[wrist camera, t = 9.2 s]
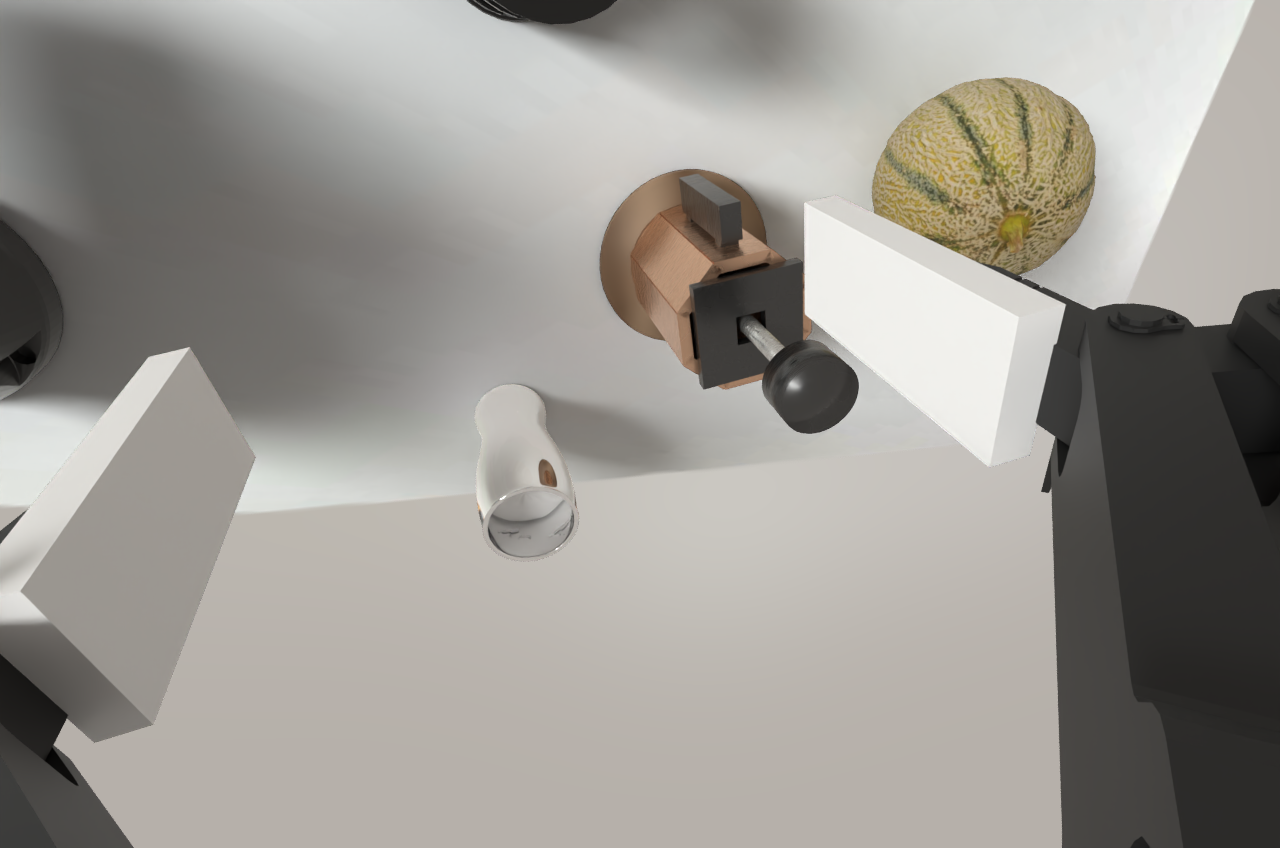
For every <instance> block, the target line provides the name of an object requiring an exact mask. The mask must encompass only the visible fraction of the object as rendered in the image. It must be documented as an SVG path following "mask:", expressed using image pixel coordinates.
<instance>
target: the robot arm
mask: <svg viewBox="0 0 1280 848" xmlns="http://www.w3.org/2000/svg"><path fill="white" fill-rule="evenodd" d="M804 251H805V315H806V316H808V317H809V318H810V319H811V320H812V321H814V322H815V323H816V324H817V325H818V326H820V327H821V328H822V329H823V330H824V331H826V332H827V333H828V334H829V335H830V336H832V337H833V338H834V339H835V340H836V341H838V342H839V343H840V344H841V345H842V346H844V347H845V348H846V349H847V350H848V351H850V352H851V353H852V354H853V355H854V356H856V357H857V358H858V359H859V360H860V361H862V362H863V363H864V364H865V365H866V366H868V367H869V368H870V369H871V370H872V371H874V372H875V373H876V374H877V375H878V376H880V377H881V378H882V379H883V380H884V381H886V382H887V383H888V384H889V385H891V386H892V387H893V388H894V389H895V390H897V391H898V392H899V393H900V394H901V395H903V396H904V397H905V398H906V399H907V400H909V401H910V402H911V403H912V404H913V405H915V406H916V407H917V408H918V409H919V410H921V411H922V412H923V413H924V414H925V415H927V416H928V417H929V418H930V419H931V420H933V421H934V422H935V423H936V424H937V425H939V426H940V427H941V428H942V429H943V430H945V431H946V432H947V433H948V434H949V435H951V436H952V437H953V438H954V439H955V440H957V441H958V442H959V443H960V444H961V445H963V446H964V447H965V448H966V449H968V450H969V451H970V452H971V453H972V454H973V455H975V456H976V457H977V458H978V459H979V460H981V461H982V462H983V463H984V464H985V465H987V466H988V467H989V468H990V467H994V466H997V465H1000V464H1003V463H1007V462H1010V461H1013V460H1017V459H1020V458H1023V457H1026V456H1030V453H1031V449H1032V444H1033V440H1034V436H1035V432H1036V428H1037V424H1038V425H1039V426H1041V427H1043V428H1044V429H1045V430H1047V431H1048V432H1050V433H1051V434H1053V435H1054V436H1055V441H1054V444H1053V449H1052V452H1051V456H1050V460H1049V464H1048V468H1047V471H1046V475H1045V479H1044V483H1043V487H1042V491H1041V492H1046V493H1049V491H1050V489H1052V521H1053V550H1054V551H1053V553H1054V585H1055V614H1056V615H1055V616H1056V649H1057V681H1058V712H1059V743H1060V774H1061V808H1062V848H1280V289H1271V290H1263V291H1256V292H1253V293H1251V294H1248V295H1245V296H1244V297H1243V298H1242V300H1241V302H1240V303H1239V306H1238V309H1237V311H1236V313H1235V316H1234V318H1233V321H1232V324H1227V325H1215V326H1202V327H1194V326H1193V325H1192V323H1191V322H1190V321H1189V320H1188V319H1187V318H1186V317H1184V316H1182V315H1179V314H1177V313H1176V312H1173V311H1171V310H1167V309H1163V308H1160V307H1156V306H1150V305H1141V304H1112V305H1107V306H1103V307H1098V308H1097V309H1095V310H1092V309H1089V308H1087V307H1085V306H1083V305H1081V304H1079V303H1076V302H1074V301H1072V300H1070V299H1068V298H1066V297H1064V296H1061V295H1059V294H1057V293H1055V292H1053V291H1051V290H1048V289H1046V288H1044V287H1043V288H1040V287H1039V285H1038V284H1036V283H1033V282H1031V281H1029V280H1027V279H1024V280H1022V277H1020V276H1018V275H1016V274H1014V273H1012V272H1010V271H1008V270H1005V269H1003V268H1001V267H997V266H993V265H988V264H984V263H979V262H976V261H973V260H971V259H969V258H967V257H965V256H963V255H961V254H959V253H957V252H955V251H952V250H950V249H948V248H946V247H944V246H942V245H940V244H938V243H936V242H933V241H931V240H929V239H927V238H925V237H923V236H921V235H919V234H917V233H915V232H912V231H910V230H908V229H906V228H904V227H902V226H900V225H898V224H896V223H894V222H891V221H889V220H887V219H885V218H883V217H881V216H879V215H877V214H875V213H872V212H870V211H868V210H866V209H864V208H862V207H860V206H858V205H856V204H854V203H851V202H849V201H847V200H845V199H843V198H841V197H839V196H837V195H833V196H829V197H825V198H821V199H816V200H812V201H808V202H804ZM62 328H63V315H62V308H61V303H60V299H59V296H58V293H57V290H56V287H55V285H54V283H53V281H52V279H51V277H50V275H49V273H48V272H47V270H46V268H45V267H44V265H43V264H42V262H41V261H40V260H39V258H38V257H37V256H36V254H35V253H34V252H33V251H32V250H31V248H30V247H29V246H28V245H27V244H26V243H25V242H24V241H23V240H22V239H21V238H20V237H19V236H18V235H17V234H16V233H15V232H14V231H13V230H12V229H11V228H9V227H8V226H7V225H6V224H5V223H3V222H2V221H1V220H0V400H1V399H3V398H5V397H7V396H9V395H11V394H13V393H14V392H16V391H17V390H19V389H21V388H22V387H23V386H24V385H26V384H27V383H28V382H29V381H30V380H31V379H32V378H33V377H34V376H36V375H37V374H38V373H39V372H40V371H41V370H42V369H43V368H44V367H45V366H46V365H47V364H48V362H49V361H50V360H51V358H52V357H53V355H54V354H55V352H56V350H57V348H58V345H59V342H60V339H61V335H62ZM255 458H256V457H255V455H254V453H253V452H252V450H251V448H250V447H249V445H248V443H247V442H246V440H245V438H244V437H243V435H242V433H241V432H240V430H239V428H238V427H237V425H236V423H235V422H234V420H233V418H232V417H231V415H230V413H229V412H228V410H227V408H226V407H225V405H224V403H223V402H222V400H221V398H220V397H219V395H218V393H217V392H216V390H215V388H214V387H213V385H212V383H211V382H210V380H209V378H208V377H207V375H206V373H205V372H204V370H203V368H202V367H201V365H200V363H199V362H198V360H197V358H196V357H195V355H194V353H193V351H192V350H191V348H190V347H188V348H184V349H180V350H176V351H171V352H167V353H163V354H159V355H154V356H150V357H148V358H147V360H146V361H145V362H144V364H143V365H142V366H141V367H140V369H139V370H138V371H137V372H136V374H135V375H134V376H133V377H132V379H131V380H130V381H129V382H128V384H127V385H126V386H125V388H124V389H123V390H122V391H121V393H120V394H119V395H118V396H117V398H116V399H115V400H114V401H113V403H112V404H111V405H110V406H109V408H108V409H107V410H106V412H105V413H104V414H103V415H102V417H101V418H100V419H99V420H98V422H97V423H96V424H95V425H94V427H93V428H92V429H91V430H90V432H89V433H88V434H87V436H86V437H85V438H84V439H83V441H82V442H81V443H80V444H79V446H78V447H77V448H76V449H75V451H74V452H73V453H72V454H71V456H70V457H69V458H68V459H67V461H66V462H65V463H64V465H63V466H62V467H61V468H60V470H59V471H58V472H57V473H56V475H55V476H54V477H53V478H52V480H51V481H50V482H49V483H48V485H47V486H46V487H45V489H44V490H43V491H42V492H41V494H40V495H39V496H38V497H37V499H36V500H35V501H34V502H33V504H32V505H31V506H30V507H29V509H27V510H26V511H25V512H24V513H22V514H21V515H20V516H19V517H17V518H16V519H15V520H13V521H12V522H11V523H10V524H9V525H7V526H6V527H5V528H3V529H2V530H1V531H0V848H133V846H132V845H131V844H130V842H129V840H128V839H127V838H126V836H125V835H124V834H123V832H122V831H121V829H120V828H119V827H118V825H117V824H116V822H115V821H114V820H113V818H112V817H111V815H110V814H109V813H108V811H107V810H106V808H105V807H104V806H103V804H102V803H101V801H100V800H99V799H98V797H97V796H96V794H95V793H94V792H93V790H92V789H91V788H90V786H89V785H88V783H87V782H86V781H85V779H84V778H83V776H82V775H81V774H80V772H79V771H78V769H77V768H76V767H75V765H74V764H73V762H72V761H71V760H70V759H69V758H68V757H67V756H66V755H65V754H63V753H62V752H61V751H60V750H59V749H57V748H56V747H55V746H54V745H53V744H54V742H55V741H56V738H57V737H58V735H59V733H60V731H61V729H62V727H63V725H64V723H65V721H66V719H69V720H70V721H71V722H72V723H73V724H74V725H75V726H76V727H77V728H78V729H80V730H81V731H82V732H83V733H84V734H85V735H86V736H87V737H89V738H90V739H91V740H92V741H93V742H94V743H95V742H99V741H102V740H105V739H108V738H112V737H115V736H118V735H121V734H125V733H128V732H131V731H134V730H137V729H141V728H144V727H147V726H151V725H153V724H154V721H155V719H156V716H157V714H158V711H159V708H160V706H161V703H162V701H163V698H164V695H165V693H166V690H167V687H168V685H169V682H170V679H171V677H172V675H173V672H174V669H175V667H176V664H177V661H178V659H179V656H180V654H181V651H182V648H183V646H184V643H185V641H186V638H187V635H188V633H189V630H190V627H191V625H192V622H193V620H194V617H195V614H196V612H197V609H198V606H199V604H200V601H201V599H202V596H203V594H204V591H205V588H206V586H207V583H208V580H209V578H210V575H211V572H212V570H213V567H214V565H215V562H216V560H217V557H218V554H219V552H220V549H221V546H222V544H223V541H224V539H225V536H226V533H227V531H228V528H229V526H230V523H231V520H232V518H233V515H234V513H235V510H236V507H237V505H238V502H239V499H240V497H241V494H242V492H243V489H244V486H245V484H246V481H247V479H248V476H249V473H250V471H251V468H252V465H253V463H254V460H255Z"/></svg>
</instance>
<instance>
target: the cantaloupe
mask: <svg viewBox="0 0 1280 848" xmlns="http://www.w3.org/2000/svg"><path fill="white" fill-rule="evenodd" d="M1094 167H1095V143H1094V140H1093V136H1092V134H1091V133H1090V130H1089V125H1088V124H1087V122H1086V121H1085V119H1084V117H1083V116H1082V115H1081V114H1080V112H1079V110H1078V109H1077V108H1076V107H1075V106H1074V105H1072V104H1071V103H1070V102H1069V101H1067V100H1066V99H1064V98H1063V97H1061V96H1058V95H1056V94H1054V93H1053V92H1052V91H1051V90H1049V89H1048V88H1046V87H1044V86H1041V85H1040V84H1036V83H1034V82H1030V81H1028V80H1022V79H1018V78H1007V77H1005V78H995V79H979V80H975V81H971V82H964V83H962V84H959V85H955V86H954V87H952V88H950V89H948V90H946V91H944V92H943V93H941V94H939V95H938V96H936V97H934V98H932V99H930V100H928V101H926V102H925V103H923V104H922V105H921V106H920V107H918V108H917V109H916V110H915V111H914V112H912V113H911V114H910V115H909V116H908V117H907V118H906V119H905V120H904V121H902V122H901V123H900V124H899V125H898V127H897V128H896V130H895V131H894V132H893V134H892V135H891V137H890V138H889V140H888V142H887V146H886V148H885V150H884V151H883V153H882V155H881V157H880V159H879V161H878V164H877V166H876V171H875V175H874V179H873V186H872V199H873V206H874V213H875V214H877V215H879V216H881V217H883V218H885V219H887V220H889V221H891V222H894V223H896V224H898V225H900V226H902V227H904V228H906V229H908V230H910V231H912V232H915V233H917V234H919V235H921V236H923V237H925V238H927V239H929V240H931V241H933V242H936V243H938V244H940V245H942V246H944V247H946V248H948V249H950V250H952V251H955V252H957V253H959V254H961V255H963V256H965V257H967V258H969V259H971V260H973V261H976V262H979V263H984V264H988V265H993V266H997V267H1001V268H1003V269H1005V270H1008V271H1010V272H1012V273H1014V274H1016V275H1019V274H1022V273H1025V272H1028V271H1030V270H1032V269H1034V268H1037V267H1039V266H1040V265H1041V264H1042V263H1044V262H1045V261H1047V260H1048V259H1049V258H1050V257H1051V256H1053V255H1054V254H1055V253H1056V252H1057V251H1058V250H1059V249H1060V248H1061V247H1062V246H1063V245H1064V244H1065V243H1066V241H1067V240H1068V239H1069V238H1070V237H1071V236H1072V235H1073V234H1074V233H1075V232H1076V231H1077V229H1078V228H1079V226H1080V224H1081V222H1082V220H1083V218H1084V216H1085V214H1086V212H1087V209H1088V207H1089V205H1090V200H1091V198H1092V196H1093V192H1094V186H1095V178H1096V177H1095V175H1094Z"/></svg>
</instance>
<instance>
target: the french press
mask: <svg viewBox="0 0 1280 848" xmlns="http://www.w3.org/2000/svg"><path fill="white" fill-rule="evenodd" d="M467 1H468V2H469V3H470V4H472V5H473V6H475V7H476V8H478V9H479V10H481V11H482V12H484V13H486V14H488V15H491V16H493V17H496V18H498V19H503V20H509V21H528V20H531V21H537V22H542V23H548V24H567V23H574V22H578V21H581V20H585V19H588V18H591V17H593V16H595V15H597V14H598V13H600V12H602V11H604V10H606V9H607V8H609V7H610V6H611V5H612V4H613V3H614V2H616V1H617V0H467Z"/></svg>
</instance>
